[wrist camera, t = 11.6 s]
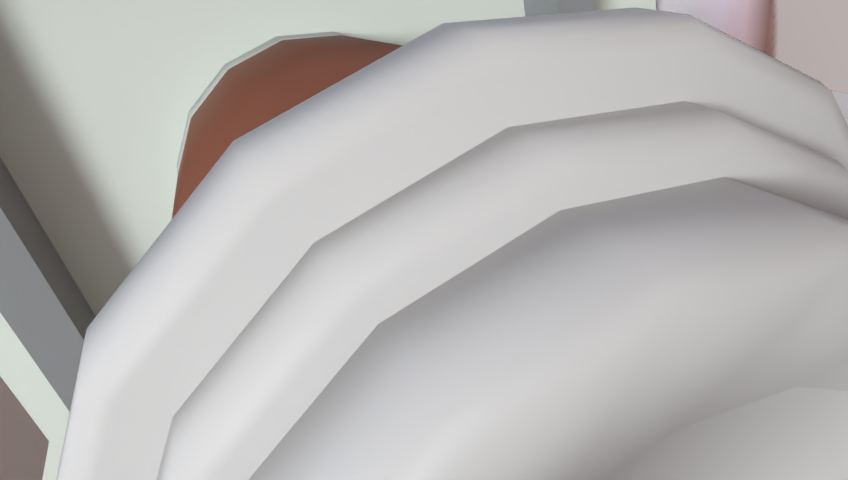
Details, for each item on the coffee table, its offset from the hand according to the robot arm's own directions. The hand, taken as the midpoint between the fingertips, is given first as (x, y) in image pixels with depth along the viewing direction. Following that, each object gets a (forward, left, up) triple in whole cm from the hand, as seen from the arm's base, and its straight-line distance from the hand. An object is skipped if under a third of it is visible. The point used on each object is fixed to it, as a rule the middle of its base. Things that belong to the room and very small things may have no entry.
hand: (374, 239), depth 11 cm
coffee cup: (0, 0, -4) cm, 4 cm away
